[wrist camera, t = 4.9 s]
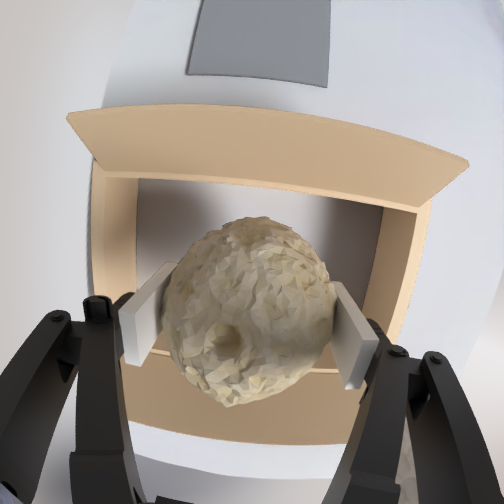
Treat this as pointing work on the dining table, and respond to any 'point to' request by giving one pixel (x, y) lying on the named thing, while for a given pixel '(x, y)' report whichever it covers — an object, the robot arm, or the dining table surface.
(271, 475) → the dining table surface
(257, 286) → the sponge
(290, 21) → the mat
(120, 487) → the robot arm
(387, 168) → the carton
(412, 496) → the vase
